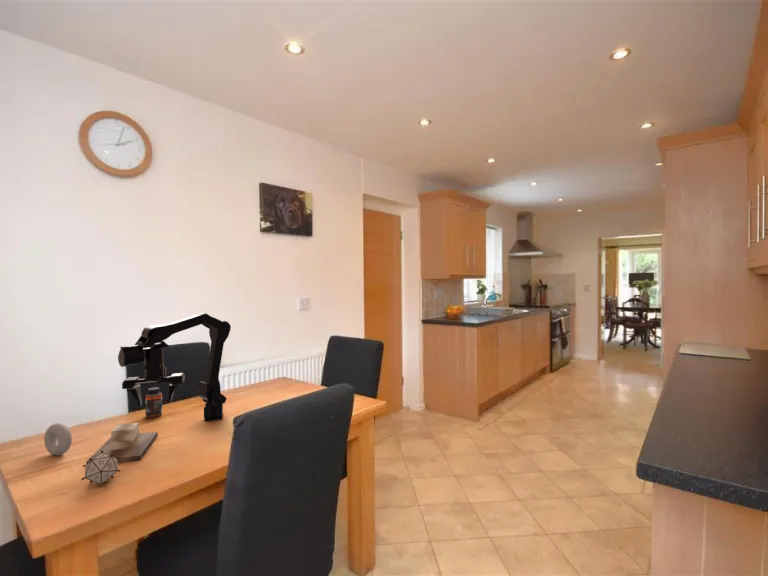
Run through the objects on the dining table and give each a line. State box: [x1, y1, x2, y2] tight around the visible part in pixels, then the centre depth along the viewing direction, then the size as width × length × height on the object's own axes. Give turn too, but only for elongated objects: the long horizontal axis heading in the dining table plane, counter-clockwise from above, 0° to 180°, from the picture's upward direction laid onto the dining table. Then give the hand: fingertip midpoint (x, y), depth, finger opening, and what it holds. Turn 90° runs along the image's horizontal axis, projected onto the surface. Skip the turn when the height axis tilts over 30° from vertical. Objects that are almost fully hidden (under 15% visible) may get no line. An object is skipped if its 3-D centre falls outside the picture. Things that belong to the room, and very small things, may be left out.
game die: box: [80, 450, 121, 488], centre depth 103 cm, size 9×8×10 cm
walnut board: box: [85, 431, 159, 465], centre depth 124 cm, size 14×20×2 cm
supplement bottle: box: [144, 386, 163, 419], centre depth 156 cm, size 6×6×11 cm
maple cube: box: [110, 422, 140, 450], centre depth 124 cm, size 6×6×6 cm
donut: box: [43, 422, 73, 456], centre depth 120 cm, size 10×4×10 cm, turn 71°
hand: (155, 404), depth 136 cm, fingers open, 9 cm apart
